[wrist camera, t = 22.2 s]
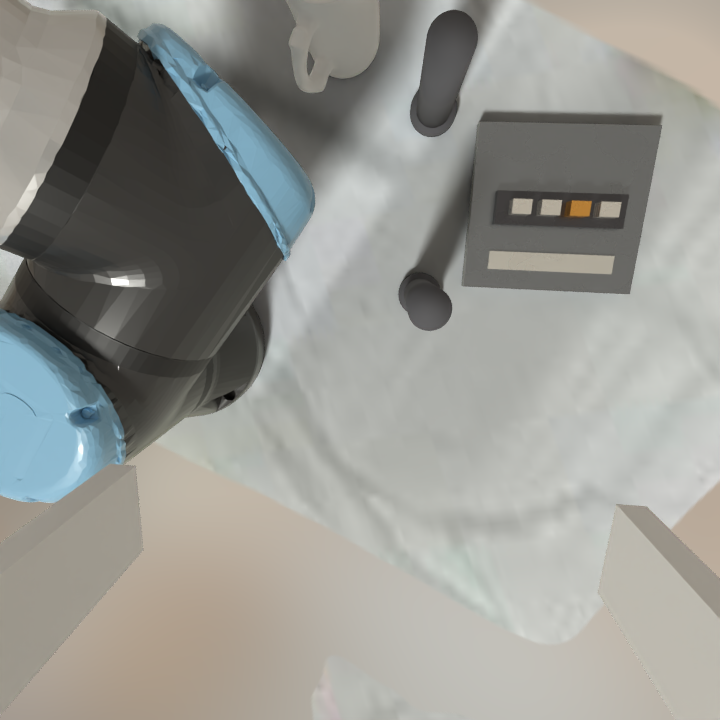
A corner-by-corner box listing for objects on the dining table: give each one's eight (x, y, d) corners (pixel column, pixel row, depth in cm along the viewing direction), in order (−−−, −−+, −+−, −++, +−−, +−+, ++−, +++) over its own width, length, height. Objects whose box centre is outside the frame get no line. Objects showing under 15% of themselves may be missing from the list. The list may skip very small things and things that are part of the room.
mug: (322, -20, 36) (287, -155, 24) (395, 11, 36) (395, -107, 24) (282, 103, 38) (233, 35, 27) (350, 133, 38) (332, 78, 27)
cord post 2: (397, 313, 42) (398, 336, 29) (400, 272, 41) (402, 277, 28) (438, 315, 42) (456, 339, 29) (441, 273, 41) (462, 280, 28)
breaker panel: (461, 285, 41) (467, 287, 38) (477, 125, 37) (484, 113, 34) (622, 293, 40) (642, 296, 37) (653, 129, 36) (677, 117, 33)
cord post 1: (408, 136, 38) (415, 77, 26) (411, 86, 37) (420, -1, 25) (453, 137, 38) (482, 78, 25) (457, 87, 37) (490, 0, 24)
